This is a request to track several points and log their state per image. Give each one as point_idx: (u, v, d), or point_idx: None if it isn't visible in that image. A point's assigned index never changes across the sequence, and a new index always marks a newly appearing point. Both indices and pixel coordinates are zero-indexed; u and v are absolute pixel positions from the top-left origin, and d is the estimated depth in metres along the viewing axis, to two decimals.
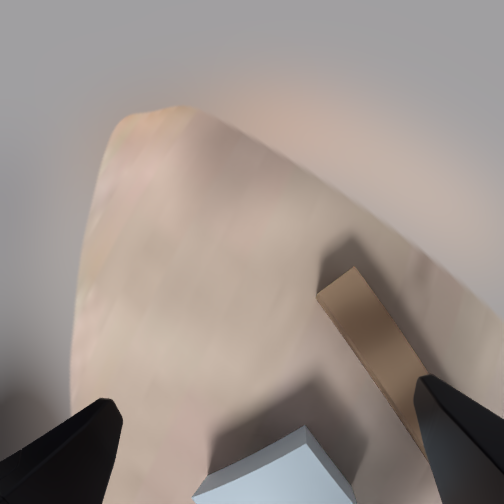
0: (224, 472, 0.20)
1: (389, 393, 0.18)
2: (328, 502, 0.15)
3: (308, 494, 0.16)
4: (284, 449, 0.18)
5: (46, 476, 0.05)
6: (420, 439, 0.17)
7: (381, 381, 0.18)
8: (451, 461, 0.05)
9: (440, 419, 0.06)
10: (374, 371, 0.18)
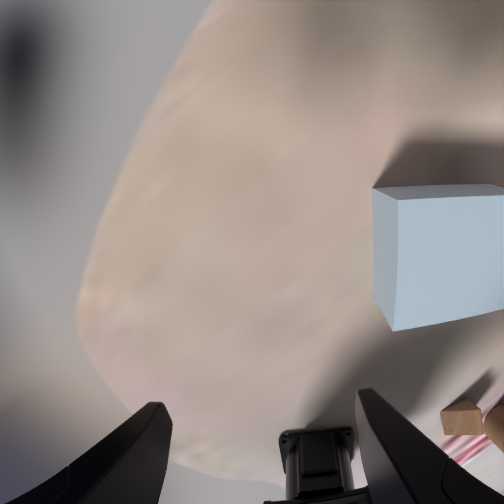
0: (411, 189, 0.16)
1: None
2: None
3: (503, 256, 0.14)
4: (498, 191, 0.14)
5: (101, 493, 0.05)
6: None
7: None
8: (380, 481, 0.05)
9: (370, 436, 0.06)
10: None
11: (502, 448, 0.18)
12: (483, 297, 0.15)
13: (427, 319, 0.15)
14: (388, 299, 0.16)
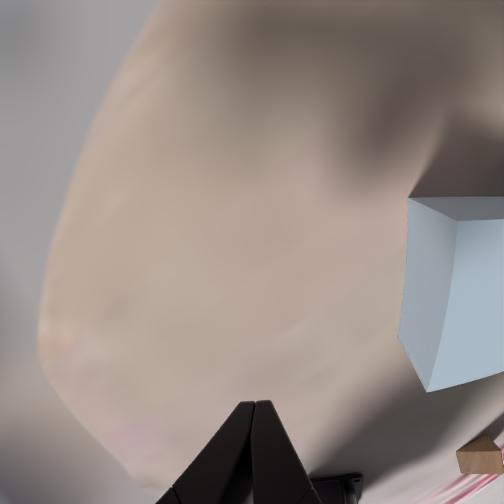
0: (459, 202, 0.11)
1: None
2: None
3: None
4: None
5: None
6: None
7: None
8: None
9: None
10: None
11: None
12: None
13: (469, 375, 0.10)
14: (424, 351, 0.11)
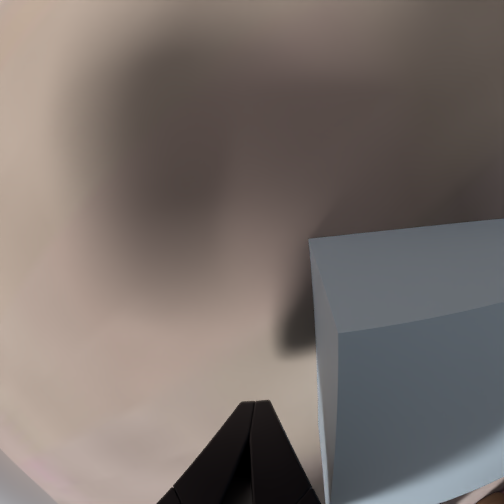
0: (402, 245, 0.07)
1: None
2: None
3: None
4: None
5: None
6: None
7: None
8: None
9: None
10: None
11: None
12: None
13: None
14: (326, 479, 0.07)
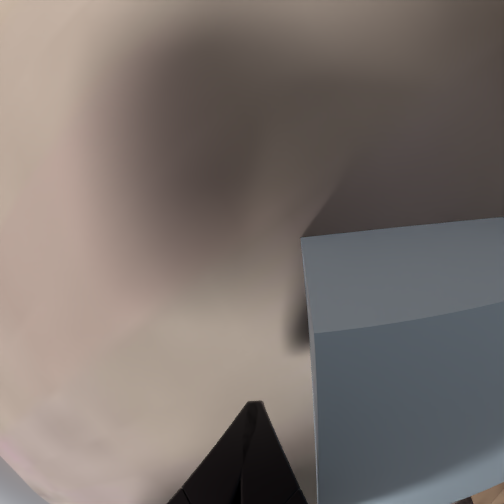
0: (393, 245, 0.07)
1: None
2: None
3: None
4: None
5: None
6: None
7: None
8: None
9: None
10: None
11: None
12: None
13: None
14: None
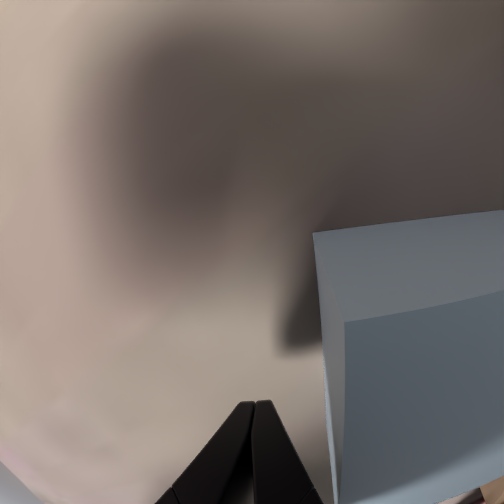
0: (406, 236, 0.06)
1: None
2: None
3: None
4: None
5: None
6: None
7: None
8: None
9: None
10: None
11: None
12: None
13: None
14: (334, 476, 0.07)
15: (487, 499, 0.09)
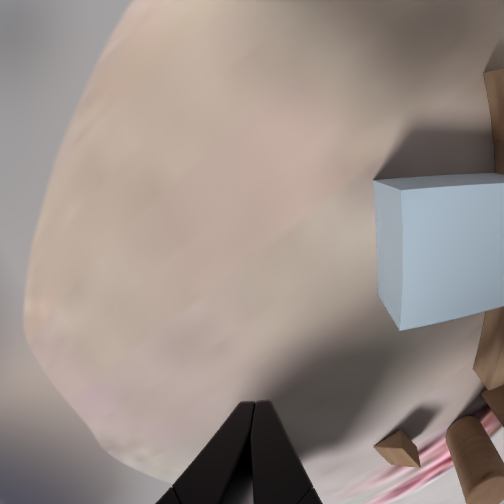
0: (413, 179, 0.15)
1: None
2: None
3: None
4: None
5: None
6: None
7: None
8: None
9: None
10: None
11: None
12: (493, 291, 0.14)
13: (436, 316, 0.14)
14: (394, 297, 0.15)
15: (486, 384, 0.18)
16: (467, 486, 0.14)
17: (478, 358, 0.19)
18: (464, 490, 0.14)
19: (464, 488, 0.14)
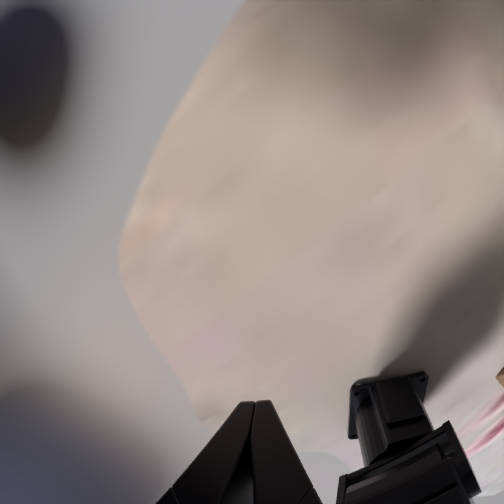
0: None
1: None
2: None
3: None
4: None
5: None
6: None
7: None
8: None
9: None
10: None
11: None
12: None
13: None
14: None
15: None
16: None
17: None
18: None
19: None
